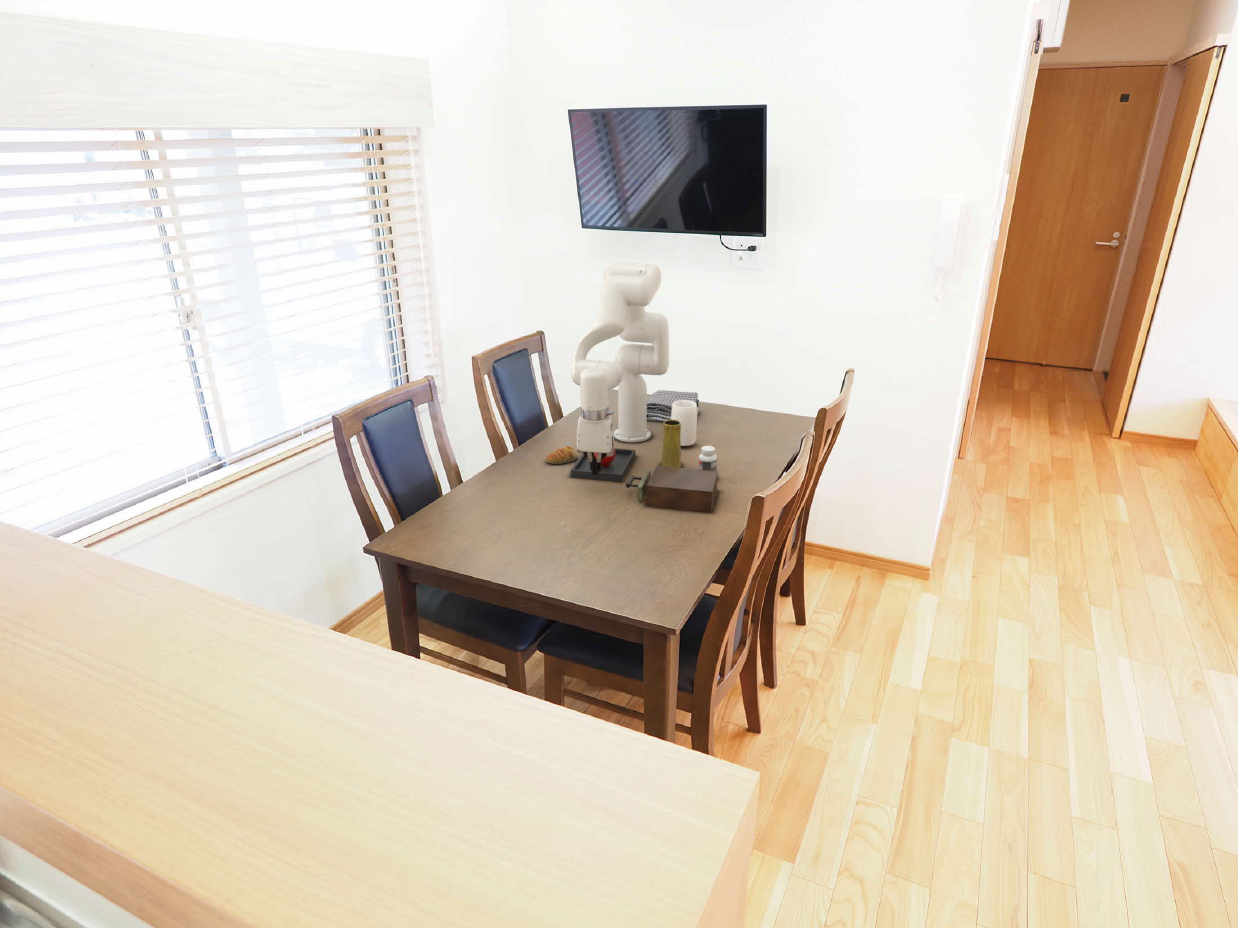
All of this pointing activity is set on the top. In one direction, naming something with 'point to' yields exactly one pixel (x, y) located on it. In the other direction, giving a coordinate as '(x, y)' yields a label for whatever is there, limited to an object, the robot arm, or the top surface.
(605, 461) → the apple
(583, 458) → the tray
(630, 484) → the drawer
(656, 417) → the towel
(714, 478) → the cabinet
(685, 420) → the cup
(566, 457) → the pastry
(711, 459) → the pill bottle
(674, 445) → the vase
